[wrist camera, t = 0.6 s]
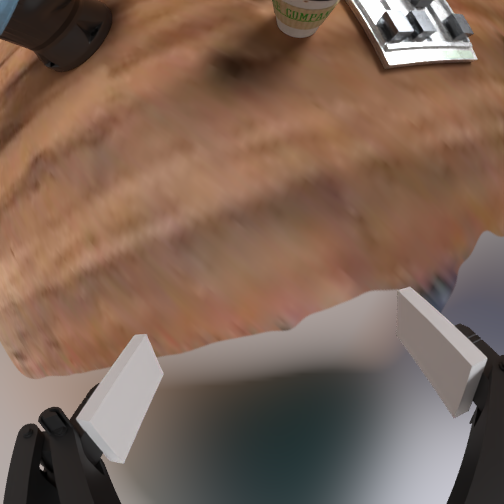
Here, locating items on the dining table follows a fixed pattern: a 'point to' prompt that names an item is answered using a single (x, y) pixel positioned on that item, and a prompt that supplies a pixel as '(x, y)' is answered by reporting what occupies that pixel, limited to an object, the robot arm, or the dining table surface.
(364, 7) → the panel
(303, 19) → the coffee cup
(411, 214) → the dining table surface
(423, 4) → the toggle
